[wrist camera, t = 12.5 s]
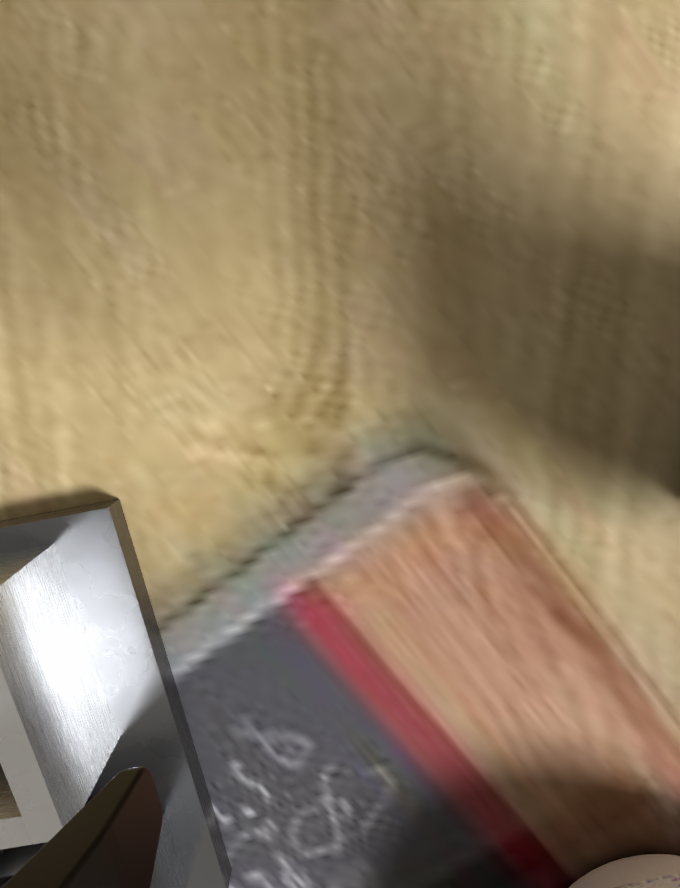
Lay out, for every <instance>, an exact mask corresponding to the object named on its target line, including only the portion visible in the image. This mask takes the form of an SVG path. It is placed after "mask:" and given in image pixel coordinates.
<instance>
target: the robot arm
mask: <svg viewBox="0 0 680 888" xmlns="http://www.w3.org/2000/svg"><path fill="white" fill-rule="evenodd" d="M162 821H163V810H162V804H161V801H160V798H159V795H158V792H157V789H156V786H155V783H154V780H153V777H152V774H151V772H150V770H149V769H148V768H147V767H145V766H140V767H134V768H128V769H124V770H122V771H120V772H119V773H118V774H117V775H116V776H115V777H113V778H112V779H111V780H110V781H109V782H108V783H107V784H106V785H105V786H104V787H103V788H102V789H101V790H100V791H99V792H98V793H97V794H96V795H95V796H94V797H93V798H92V799H91V800H90V801H89V802H88V803H87V804H86V805H85V806H84V807H83V808H82V809H81V810H80V811H79V812H78V813H77V814H76V815H75V816H74V817H73V818H72V819H71V820H70V821H69V822H68V823H67V824H66V825H65V826H64V827H63V828H62V829H61V830H60V831H59V832H58V833H57V834H56V835H55V836H54V837H53V838H52V839H51V840H50V841H48V842H47V843H46V844H45V845H44V846H43V847H42V848H41V849H40V850H39V851H38V852H37V853H36V854H35V855H34V856H33V857H32V858H31V859H30V860H29V861H28V862H27V863H26V864H25V865H24V866H23V867H22V868H21V869H20V870H19V871H18V872H17V873H16V874H15V875H14V876H13V877H12V878H11V879H10V880H9V881H8V882H7V883H6V884H5V885H4V886H3V887H2V888H150V887H151V881H152V876H153V871H154V865H155V860H156V854H157V849H158V843H159V838H160V832H161V827H162Z"/></svg>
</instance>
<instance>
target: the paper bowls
mask: <svg viewBox="0 0 680 888" xmlns="http://www.w3.org/2000/svg"><path fill="white" fill-rule="evenodd" d="M569 888H680V856H677V855H669V854H646V855H637V856H631V857H626V858H622V859H619V860H615V861H612V862H609V863H607V864H605V865H602V866H600V867H598V868H596V869H594V870H592V871H590V872H589V873H587V874H586V875H584V876H582V877H581V878H579V879H578V880H577V881H576V882H574V883H573V884H572V885H571V886H570V887H569Z"/></svg>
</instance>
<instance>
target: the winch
mask: <svg viewBox="0 0 680 888" xmlns="http://www.w3.org/2000/svg"><path fill="white" fill-rule="evenodd" d="M140 766H145V767H147V768H148V769H149V770H150V772H151V774H152V777H153V780H154V783H155V786H156V789H157V792H158V795H159V798H160V801H161V804H162V810H163V821H162V827H161V832H160V838H159V843H158V849H157V854H156V860H155V865H154V871H153V876H152V881H151V887H150V888H228V887H229V881H230V876H231V871H232V869H231V866H230V863H229V859H228V856H227V853H226V850H225V846H224V843H223V840H222V836H221V833H220V830H219V826H218V823H217V820H216V817H215V813H214V810H213V807H212V803H211V800H210V797H209V794H208V790H207V787H206V784H205V780H204V777H203V774H202V770H201V767H200V764H199V761H198V757H197V754H196V751H195V747H194V744H193V741H192V738H191V734H190V731H189V728H188V724H187V721H186V718H185V714H184V711H183V708H182V705H181V701H180V698H179V695H178V691H177V688H176V685H175V682H174V678H173V675H172V672H171V668H170V665H169V662H168V658H167V655H166V652H165V649H164V645H163V642H162V639H161V635H160V632H159V629H158V626H157V622H156V619H155V616H154V612H153V609H152V606H151V602H150V599H149V596H148V593H147V589H146V586H145V583H144V579H143V576H142V573H141V570H140V566H139V563H138V560H137V556H136V553H135V550H134V547H133V543H132V540H131V537H130V533H129V530H128V527H127V523H126V520H125V517H124V514H123V510H122V507H121V504H120V500H119V499H117V500H112V501H106V502H101V503H96V504H91V505H85V506H80V507H75V508H69V509H64V510H59V511H53V512H48V513H43V514H37V515H32V516H27V517H21V518H16V519H11V520H5V521H0V888H2V887H3V886H4V885H5V884H6V883H7V882H8V881H9V880H10V879H11V878H12V877H13V876H14V875H15V874H16V873H17V872H18V871H19V870H20V869H21V868H22V867H23V866H24V865H25V864H26V863H27V862H28V861H29V860H30V859H31V858H32V857H33V856H34V855H35V854H36V853H37V852H38V851H39V850H40V849H41V848H42V847H43V846H44V845H45V844H46V843H47V842H48V841H50V840H51V839H52V838H53V837H54V836H55V835H56V834H57V833H58V832H59V831H60V830H61V829H62V828H63V827H64V826H65V825H66V824H67V823H68V822H69V821H70V820H71V819H72V818H73V817H74V816H75V815H76V814H77V813H78V812H79V811H80V810H81V809H82V808H83V807H84V806H85V805H86V804H87V803H88V802H89V801H90V800H91V799H92V798H93V797H94V796H95V795H96V794H97V793H98V792H99V791H100V790H101V789H102V788H103V787H104V786H105V785H106V784H107V783H108V782H109V781H110V780H111V779H112V778H113V777H115V776H116V775H117V774H118V773H119V772H120V771H122V770H124V769H128V768H134V767H140Z"/></svg>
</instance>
